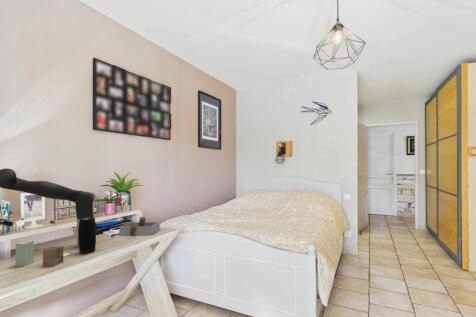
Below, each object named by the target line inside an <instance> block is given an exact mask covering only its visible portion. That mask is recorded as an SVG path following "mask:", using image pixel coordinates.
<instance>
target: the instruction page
mask: <svg viewBox="0 0 476 317" xmlns="http://www.w3.org/2000/svg"><path fill="white" fill-rule="evenodd" d="M71 254H72V253H71V252H63V258H66V257H67V256H69V255H71ZM40 260H43V257H41V258H40Z"/></svg>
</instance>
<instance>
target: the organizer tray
mask: <svg viewBox="0 0 476 317" xmlns="http://www.w3.org/2000/svg"><path fill="white" fill-rule="evenodd" d="M135 224H137V225H138V224H139V221H138V222H137V221H133V222H131V221H130V222H128V223H125V224H123V225H120V226H119V228H118V229H119V231H118V232H119V233H118V234H119V236H120V237H121V236H122V237H123V236H132V235H131V234H130V230H131V226H133V225H135ZM160 224H161V222H160V221H145V224H144V226H141V227H137V228H136V231H135V233H134V235H133V236H153V235H154V234H156V233H157V232H158V231H160V229H161V226H160ZM148 225H150V226H148Z"/></svg>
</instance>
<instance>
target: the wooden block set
mask: <svg viewBox="0 0 476 317" xmlns="http://www.w3.org/2000/svg"><path fill="white" fill-rule="evenodd" d="M138 222H139V224H138V225H137V224H135V225H133V226H131V230H130V234H131V235H130V236H135V235H134V233H135V231H136V228H137V227H141V226H144V224H145V222H146V217H144V216H140V217H139V220H138ZM148 226H150V225H148Z"/></svg>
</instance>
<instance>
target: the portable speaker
mask: <svg viewBox="0 0 476 317" xmlns="http://www.w3.org/2000/svg"><path fill="white" fill-rule="evenodd" d="M78 243H79V245H78V246H79V247H78V251H79V253H80V254H82V255H84V254H85V255H86V254H89V253H90V252H95V251H96V245H97V225H96V217H91V216H89V217H85V218H80V221H79V227H78Z"/></svg>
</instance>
